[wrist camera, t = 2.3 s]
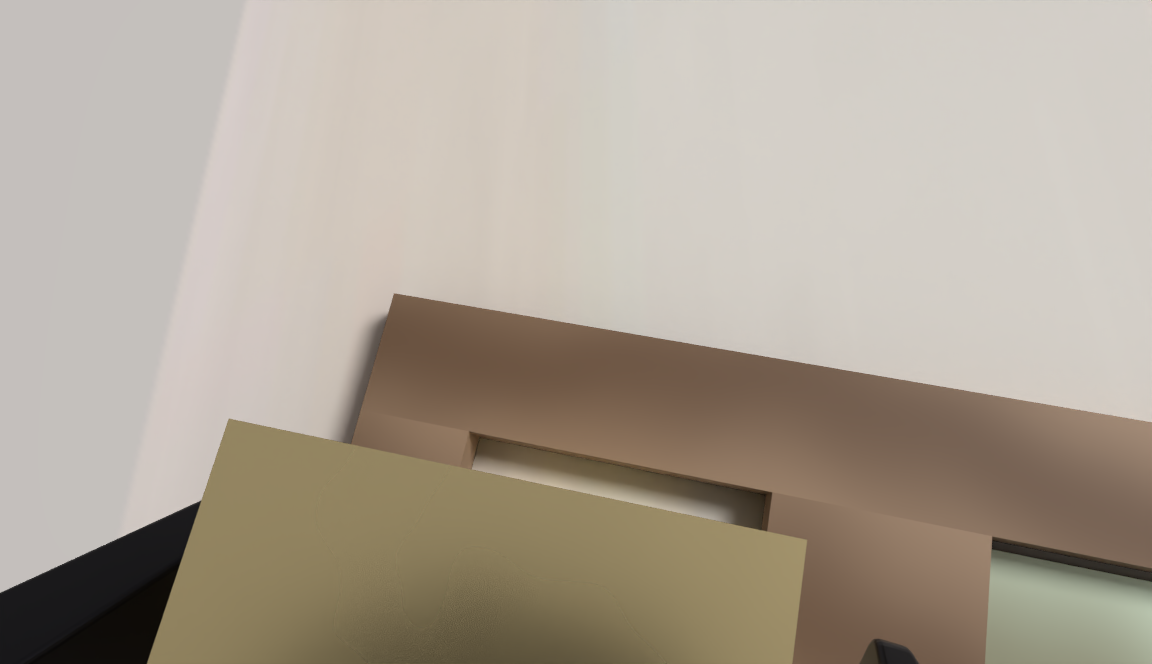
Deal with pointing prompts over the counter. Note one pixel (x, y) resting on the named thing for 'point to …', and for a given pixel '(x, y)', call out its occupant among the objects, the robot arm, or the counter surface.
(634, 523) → the tall khaki block
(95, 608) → the robot arm
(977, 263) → the counter surface
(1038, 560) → the brown double frame
